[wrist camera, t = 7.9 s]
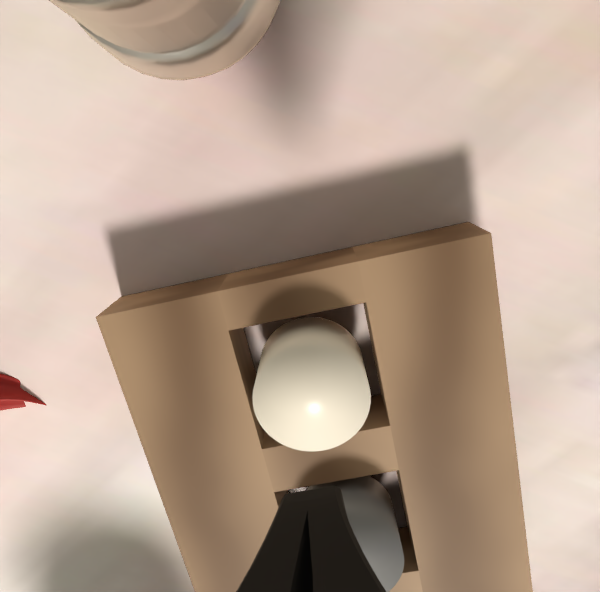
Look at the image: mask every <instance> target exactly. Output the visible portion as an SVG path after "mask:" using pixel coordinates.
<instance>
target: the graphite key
mask: <svg viewBox="0 0 600 592" xmlns="http://www.w3.org/2000/svg"><path fill="white" fill-rule="evenodd" d="M329 486H337V487H339V488H340V489H341V492H342V496H343V500H344V505H345V509H346V513H347V517H348V520H349V523H350V525H351V528H352V530H353V532H354V534H355V536H356V539H357V541H358V543H359V545H360V547H361V549H362V551H363V553H364V555H365V557H366V558H367V560H368V562H369V564H370V566H371V567H372V569H373V571H374V572H375V574H376V576H377V578H378V579H379V581H380V582H381V584H382V586H383V587H384V589H385V590H386V592H389V591H390V590H391V589H392V588H393V587H394V586H395V585H396V584H397V582H398V581H399V579H400V577H401V575H402V572H403V568H404V554H403V549H402V545H401V541H400V536H399V532H398V527H397V523H396V518H395V514H394V510H393V505H392V501H391V498H390V496H389V494H388V492H387V490H386V489H385V488H384V487H383V486H382V484H380V483H379V482H378V481H377V480H375V479H374V478H372V477H370V476H363V477H357V478H351V479H346V480H340V481H334V482H329V483H323V484H317V485H312V486H309V488H308V489H307V490H312V489H318V488H324V487H329Z"/></svg>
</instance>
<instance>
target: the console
mask: <svg viewBox="0 0 600 592" xmlns="http://www.w3.org/2000/svg"><path fill="white" fill-rule="evenodd" d="M361 303H363V304H364V309H365V314H366V319H367V324H368V329H369V334H370V339H371V344H372V349H373V354H374V359H375V364H376V369H377V374H378V380H379V385H380V390H381V394H379V395H374V396H371V404H370V410H369V413H368V416H367V418H366V421H365V423H364V424H363V426H362V427H361V429H360V430H359V431H358V432H357V433H356V434H355V435H354V436H353V437H352V438H351V439H349V440H348V441H346V442H345V443H343V444H341V445H339V446H337V447H334V448H332V449H328V450H324V451H300V450H296V449H292V448H289V447H287V446H285V445H283V444H281V443H279V442H277V441H276V440H274V439H273V438H272V437H271V436H269V435H268V434H267V432H266V431H265V430H264V429H263V428H262V426H261V425H260V423H259V421H258V420H257V418H256V415H255V412H254V408H253V399H252V396H253V388H254V384H255V380H256V373H255V369H254V365H253V362H252V358H251V354H250V351H249V347H248V343H247V340H246V336H245V332H244V329H243V328H244V327H249V326H254V325H258V324H263V323H268V322H273V321H278V320H283V319H288V318H292V317H297V316H302V315H307V314H312V313H317V312H322V311H327V310H331V309H336V308H341V307H346V306H351V305H356V304H361ZM96 319H97V322H98V324H99V327H100V330H101V333H102V336H103V338H104V341H105V344H106V347H107V349H108V352H109V355H110V358H111V360H112V363H113V366H114V369H115V372H116V374H117V377H118V380H119V383H120V385H121V388H122V391H123V394H124V396H125V399H126V402H127V405H128V408H129V410H130V413H131V416H132V419H133V421H134V424H135V427H136V430H137V433H138V435H139V438H140V441H141V444H142V446H143V449H144V452H145V455H146V457H147V460H148V463H149V466H150V469H151V471H152V474H153V477H154V480H155V482H156V485H157V488H158V491H159V493H160V496H161V499H162V502H163V505H164V507H165V510H166V513H167V516H168V518H169V521H170V524H171V527H172V530H173V532H174V535H175V538H176V541H177V543H178V546H179V549H180V552H181V554H182V557H183V560H184V563H185V566H186V568H187V571H188V574H189V577H190V579H191V582H192V585H193V588H194V591H195V592H236V591H237V590H238V588H239V586H240V584H241V583H242V581H243V579H244V577H245V576H246V574H247V572H248V570H249V569H250V567H251V565H252V563H253V561H254V559H255V557H256V555H257V553H258V551H259V549H260V547H261V545H262V543H263V541H264V539H265V537H266V535H267V533H268V530H269V528H270V526H271V524H272V522H273V519H274V517H275V515H276V512H277V510H278V508H279V505H280V503H281V500H282V498H283V497H284V496H285V494H289V493H288V490H289V489H295V488H300V487H306V486H312V485H317V484H323V483H329V482H334V481H340V480H346V479H351V478H357V477H363V476H369V475H374V474H380V473H386V472H391V471H397V476H398V481H399V486H400V491H401V496H402V501H403V506H404V511H405V516H406V521H407V527H403V528H398V532H399V536H400V541H401V545H402V549H403V554H404V568H403V572H402V575H401V577H400V579H399V581H398V582H397V584H396V585H395V586H394V587H393V588H392V589H391V590H390V591H389V592H533V591H532V582H531V574H530V565H529V556H528V548H527V539H526V531H525V522H524V513H523V505H522V496H521V487H520V479H519V470H518V462H517V453H516V444H515V436H514V427H513V418H512V410H511V401H510V393H509V384H508V375H507V367H506V358H505V349H504V341H503V332H502V324H501V315H500V306H499V298H498V289H497V280H496V272H495V263H494V255H493V246H492V237H491V233H490V232H488V231H486V230H484V229H482V228H480V227H478V226H476V225H474V224H472V223H470V222H466V223H461V224H457V225H452V226H447V227H443V228H438V229H433V230H429V231H424V232H419V233H415V234H410V235H405V236H401V237H396V238H392V239H387V240H382V241H378V242H373V243H368V244H364V245H359V246H354V247H350V248H345V249H340V250H336V251H331V252H327V253H322V254H317V255H313V256H308V257H303V258H299V259H294V260H289V261H285V262H280V263H275V264H271V265H266V266H262V267H257V268H252V269H248V270H243V271H238V272H234V273H229V274H224V275H220V276H215V277H210V278H206V279H201V280H196V281H192V282H187V283H183V284H178V285H173V286H169V287H164V288H159V289H155V290H150V291H145V292H141V293H136V294H131V295H127V296H122V297H120V298H119V299H118V300H117V301H115V302H114V303H113V304H112V305H110V306H109V307H108V308H107V309H105V310H104V311H103V312H102V313H100V314H99V315H98V316H97V317H96Z"/></svg>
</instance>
